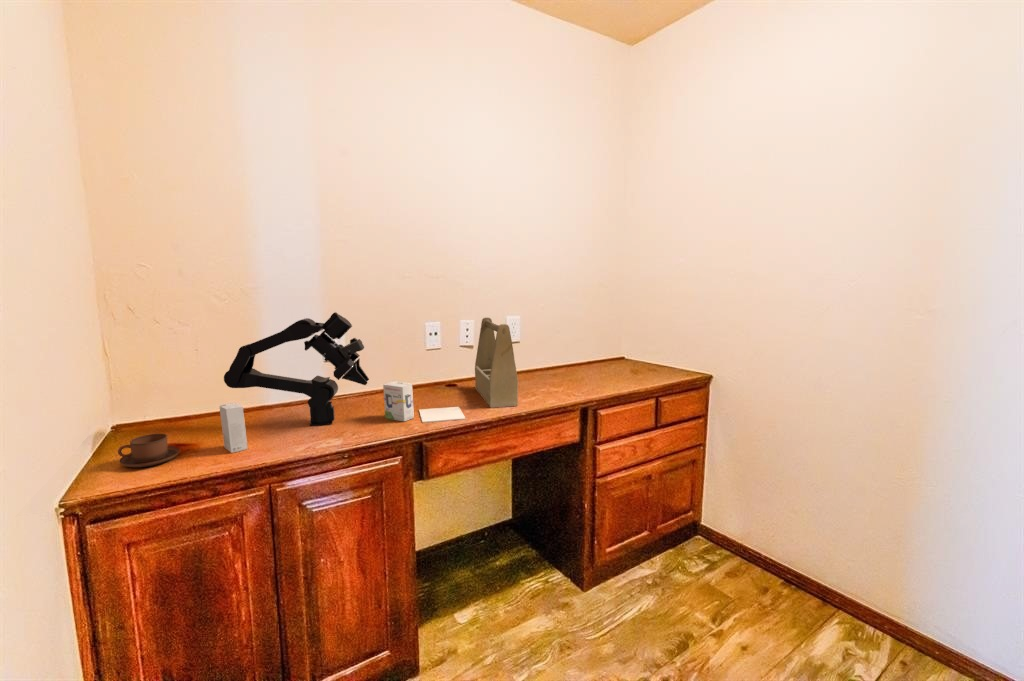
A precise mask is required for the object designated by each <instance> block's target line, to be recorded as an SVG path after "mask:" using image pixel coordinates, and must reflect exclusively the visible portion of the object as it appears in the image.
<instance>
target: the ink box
mask: <svg viewBox="0 0 1024 681" xmlns="http://www.w3.org/2000/svg"><path fill="white" fill-rule="evenodd" d="M382 388H383V400H384V401H383V402H384V403H383V404H384V417H385V419H388V420H393V421H399V422H406V421H409V420H412V419H414V418H415V414H414V412H415V411H414V396H413V395H414V394H413V384H411V383H409V382H405V381H404V382H403V381H396V380H393V381H389V382H388V383H384V384H382Z"/></svg>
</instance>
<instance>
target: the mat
mask: <svg viewBox="0 0 1024 681" xmlns="http://www.w3.org/2000/svg"><path fill="white" fill-rule="evenodd" d="M418 412H419V415H420V419H421V422H422V424H427V423H438V422H449V421H450V422H451V421H463V420H464V421H465V420H466V419H467V418H466V416H465V415H464V413H463V411H462V410H461V408H460V406H451V407H449V406H448V407H447V406H446V407H435V408H423V409H418Z"/></svg>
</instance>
